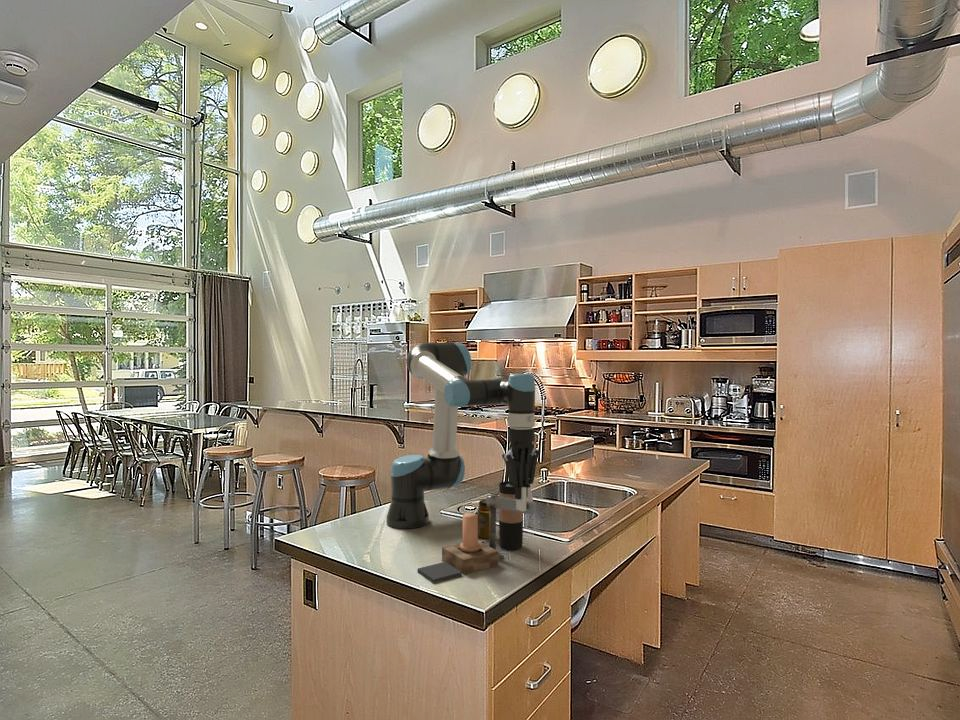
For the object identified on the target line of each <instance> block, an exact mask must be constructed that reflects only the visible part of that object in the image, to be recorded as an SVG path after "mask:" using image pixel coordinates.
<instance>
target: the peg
mask: <svg viewBox="0 0 960 720" xmlns="http://www.w3.org/2000/svg"><path fill="white" fill-rule="evenodd" d="M460 543H461V544H460V550H462V551H463V552H464V553H466V554H470V553H474V552H478V550H480V543H478V513H473V512H469V513H467V512H466V513H464V514H462V542H460Z"/></svg>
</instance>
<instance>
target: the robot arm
mask: <svg viewBox="0 0 960 720" xmlns="http://www.w3.org/2000/svg"><path fill="white" fill-rule="evenodd" d="M470 353H471V352H470V351H469V349H468V347H467V346H466V345H465V344H464V343H460V342H453V341H452V342H451V341H450V342H448V341H447V342H446V341H445V342H421V343H419V344H416V345H415V346H413V347H412V348H411V349H410V350H409V351H408V353H407V356H406V360H405V361H406V362H405V363H406V367H407V370H408V371H409V373H410V374H411V375H413V376H414V377H415V378H417V379H419V380H420V379H421V380H422V379H423V380H425V381H426V382H427V383H428V384H430V385H432V386H433V387H435V389H434V390H435V391H434V393H435V394H434V411H433V415H434V416H433V427H432V428H433V429H432V430H433V431H432V432H433V433H432V447H431V448H430V449H429V450H428V451H427V458H425V456H424V455H422V454H408V455H403V456H401V457H397V458H396V459H394V460H393V461H392V463H391V469H390V470H391V471H390V477H391V480H390V481H391V488H390V489H391V490H390V492H391V494H390V496H391V498H390V504H389V508H388V511H387V515H386V520H385V521H386V525H387V526H389V527H391V528H396V529H403V530H404V529H406V530H407V529H417V528H421V527H424V526H426V525H428V524H429V523H430V515H429V511H428V508H427V504H426V503H425V492H429V491H431V492H432V491H438V490H446V489H447V490H448V489H451V488H452V489H453V488H456V487H458V486H459V485H461V483H462V482H463V481H464V477H465V472H466V465H465V460H464V458H463V457H462V456H461V455H460V451H459V450H458V449H457V448H456V447H457V432H458V431H457V430H458V415H459V408H464V407H477V406H495V405H506V406H508V418H507V419H508V421H507V422H508V424H507V425H508V427H509V428H508V435H507V440H508V442H509V447H508V451H507V452H506V453H502V454H501V455H502V459H503V461H504V463H505V469H506V474H507V481H509V485H510V486H513V487H515V499H516V509H517V510H520V511H526V498H527V496H528V488H530V486H531V485H530V484H532V485H533V484H534V482H535V481H534V480H535V474H536V469H537V464H538V463H537V462H538V458H539V457H540V454H541V451H540V450H539V449H536V448H535V447H534V446H535V445H534V442H535V440H536V439H535V437H536V436H535V434H536V433H535V432H536V430H535V428H534V427H535V426H536V424H535V419H536V418H535V417H536V416H535V413H536V412H535V410H536V385H535V382H536V381H535V375H534V374H532V373H510V374H509V375H508V379H505V378H492V379H468V378H466V377H465V376H466V375H468V374H470V371H471V369H472V356H471V354H470ZM531 487H532V486H531Z"/></svg>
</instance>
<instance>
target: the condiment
mask: <svg viewBox="0 0 960 720" xmlns="http://www.w3.org/2000/svg"><path fill="white" fill-rule="evenodd" d="M477 515H478V541H480V542H482V543H483V542H487V541H488V542H489V507H487V498H486V499H481V500H479V501H478V509H477ZM497 539H499V535H497V534H496V540H497Z"/></svg>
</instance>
